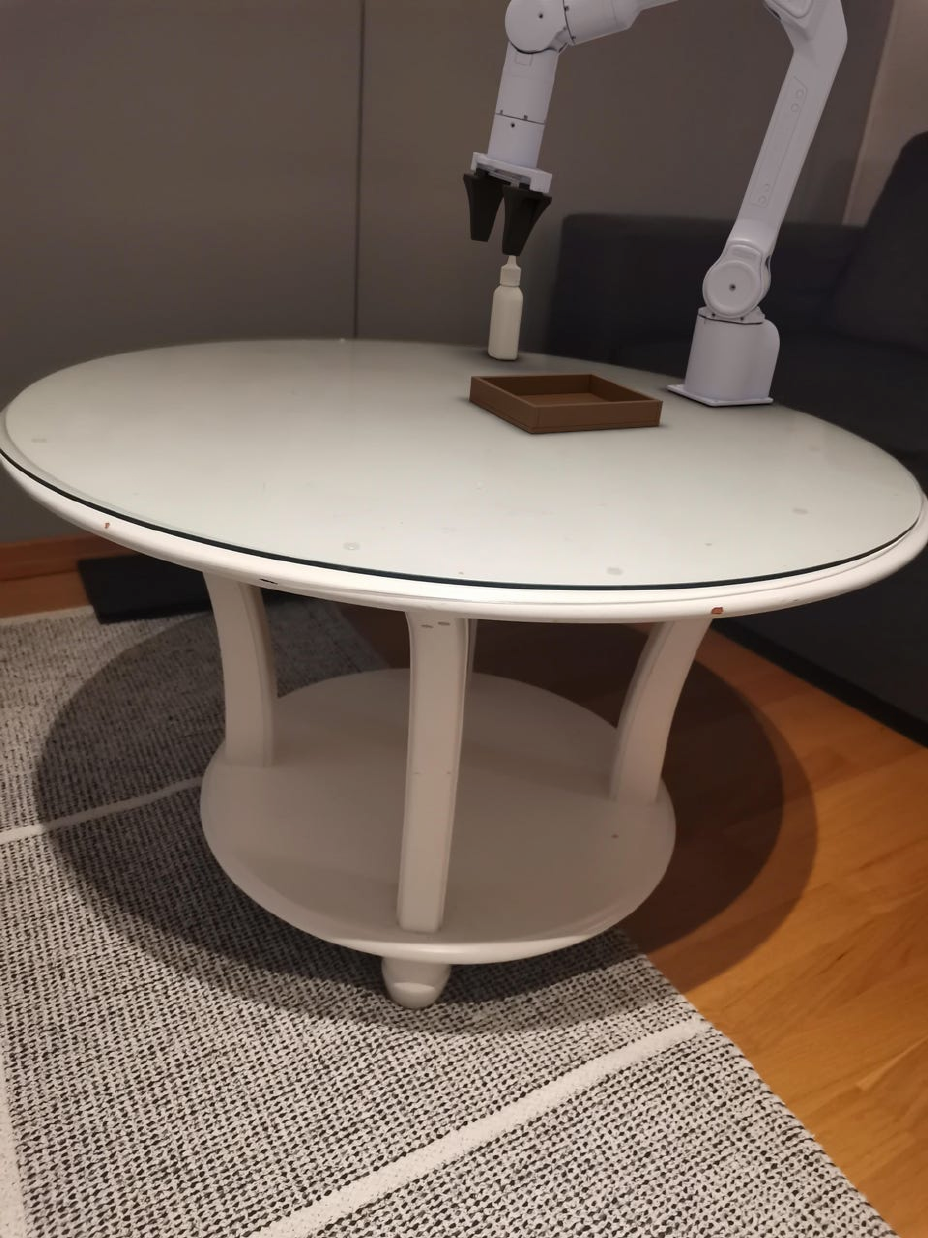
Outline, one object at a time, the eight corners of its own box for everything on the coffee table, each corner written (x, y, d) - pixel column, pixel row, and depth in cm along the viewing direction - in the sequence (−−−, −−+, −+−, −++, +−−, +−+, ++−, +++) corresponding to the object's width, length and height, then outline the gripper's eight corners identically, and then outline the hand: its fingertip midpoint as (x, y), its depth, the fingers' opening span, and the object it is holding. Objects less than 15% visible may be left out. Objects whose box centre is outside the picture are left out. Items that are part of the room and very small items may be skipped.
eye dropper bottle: (523, 354, 121) (535, 255, 116) (513, 362, 116) (524, 259, 111) (491, 350, 122) (501, 251, 117) (479, 357, 117) (488, 254, 112)
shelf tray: (589, 395, 104) (592, 372, 103) (659, 425, 94) (663, 400, 93) (468, 400, 97) (470, 376, 96) (531, 433, 87) (534, 407, 86)
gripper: (458, 105, 107) (437, 230, 114) (523, 120, 97) (495, 257, 103) (510, 116, 111) (486, 237, 117) (578, 132, 100) (548, 264, 107)
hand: (494, 247), depth 111 cm, fingers open, 7 cm apart
